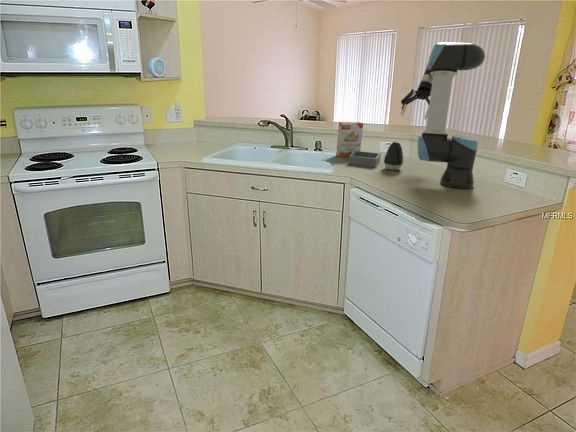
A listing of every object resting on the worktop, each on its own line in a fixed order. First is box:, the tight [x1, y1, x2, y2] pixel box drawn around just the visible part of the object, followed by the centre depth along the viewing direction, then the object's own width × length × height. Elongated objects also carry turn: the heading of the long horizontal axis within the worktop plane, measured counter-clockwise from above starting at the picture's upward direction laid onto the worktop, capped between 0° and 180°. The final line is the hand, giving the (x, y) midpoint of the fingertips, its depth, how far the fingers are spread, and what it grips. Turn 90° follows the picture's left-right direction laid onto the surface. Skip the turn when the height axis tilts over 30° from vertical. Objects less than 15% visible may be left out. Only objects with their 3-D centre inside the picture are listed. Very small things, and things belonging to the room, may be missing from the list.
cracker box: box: [335, 121, 364, 158], centre depth 241 cm, size 14×6×21 cm, turn 105°
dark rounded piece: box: [383, 141, 404, 171], centre depth 214 cm, size 10×10×15 cm
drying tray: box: [348, 150, 382, 168], centre depth 228 cm, size 16×16×5 cm
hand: (413, 116), depth 222 cm, fingers open, 13 cm apart
